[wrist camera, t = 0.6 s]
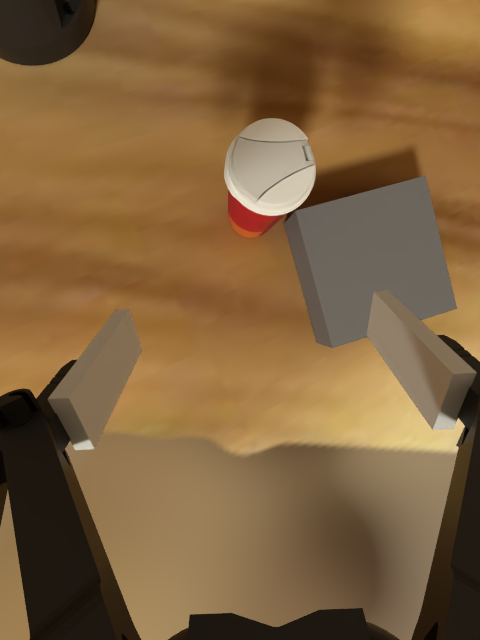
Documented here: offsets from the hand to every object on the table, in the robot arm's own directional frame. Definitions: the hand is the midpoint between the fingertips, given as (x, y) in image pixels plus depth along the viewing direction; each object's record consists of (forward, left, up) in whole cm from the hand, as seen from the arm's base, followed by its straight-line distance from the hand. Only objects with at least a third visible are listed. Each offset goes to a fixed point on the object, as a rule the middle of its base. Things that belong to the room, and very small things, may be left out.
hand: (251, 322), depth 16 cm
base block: (-1, +18, -21) cm, 28 cm away
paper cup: (-11, +6, -21) cm, 25 cm away
